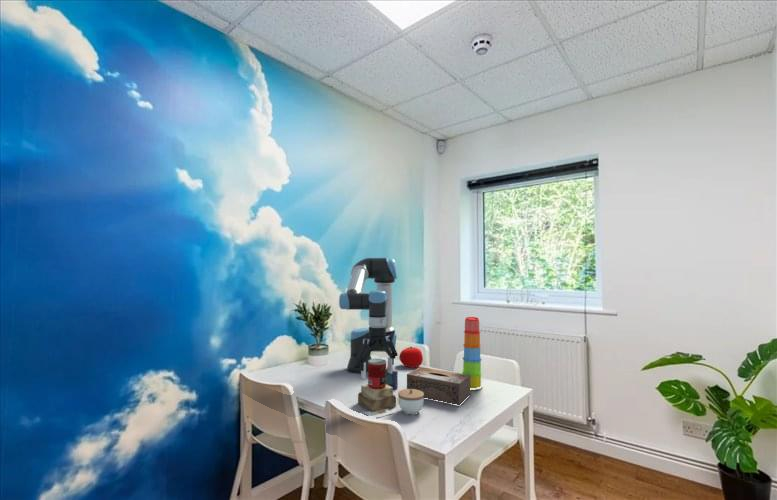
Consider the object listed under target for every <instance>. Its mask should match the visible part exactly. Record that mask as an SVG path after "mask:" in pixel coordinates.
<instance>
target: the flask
mask: <svg viewBox="0 0 777 500" xmlns="http://www.w3.org/2000/svg"><path fill="white" fill-rule="evenodd" d="M398 372H399V371H398V370H397V369H392V374H390V373H388V366H386V384H387V385H389V386H391V387H393V391H396V390H398V388H399V387H398V385H399V384H398V382H399V380H398Z"/></svg>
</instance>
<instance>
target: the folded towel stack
mask: <svg viewBox="0 0 777 500" xmlns="http://www.w3.org/2000/svg"><path fill="white" fill-rule="evenodd" d="M360 389H361V390H360V391H359V392H358V394H357V404H358V405H359V406H361V407H363V408H365V409H366V410H367V411H368V412H369V411H371V412H375V411H379V410H383V409H388V410H390V409H392V408H396V407H397V396H396V394H394V390H393V387H391V386H389V385H387V384H386V386H385V388H382V389H372V388H370V387H369V386H368V383H366V384H361V385H360Z"/></svg>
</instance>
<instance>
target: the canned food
mask: <svg viewBox="0 0 777 500" xmlns="http://www.w3.org/2000/svg"><path fill="white" fill-rule="evenodd" d="M386 369H387V360H386V359H383V358H371V359H370V360H369V361H368V372H367V384H368V386H369V387H370V388H372V389H382V388H385V386H386Z"/></svg>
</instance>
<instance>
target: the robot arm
mask: <svg viewBox="0 0 777 500" xmlns="http://www.w3.org/2000/svg"><path fill="white" fill-rule="evenodd" d="M350 275H351V277H350V281H349V283H348V286H347V290H346V292H343V293H340V295H339V297H338V298H339V299H338V302H339V303H338V305H339V308H340V309H341V310H347V311H349V310H351V311H352V310H358V311H359V310H363V311H365V310H367V311H368V326H369V327H362V328H361V327H360V328H357V329H353V330H352V331H351V332H350V355H349V360H348V364H347V368H346V369H347V371H348V372H350V373H354V374H360V378H362V379H364V380H365V379H366V378H367V374H368V361H369V360H370V359H372V356H371V355H372V353H371V352H373V353H374V352H380V353H381V352H383V353H386V354H387V355H388V357H387V367H388V373H390V374H392V370H393V366H394V364H395V362H394V360H395V359H396V357H397V356H399V355H398V352H397V349H396V344H397V336H398V331H396V330H395V327H394V325H393V284H394V283H395V282H396V279H398V272H397V264H396V260H395V259H394V258H391V257H367V258H363V259H361V260H359V261H358V262H356V263H355V264H354V265H353V267H352V268H351V271H350ZM368 279H371V280H372V279H373V282H374V284H375V285H376V290H371V291H369V292H368V293H366V292H365V293H363V291H364V287H365V283H366V280H368Z"/></svg>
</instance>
